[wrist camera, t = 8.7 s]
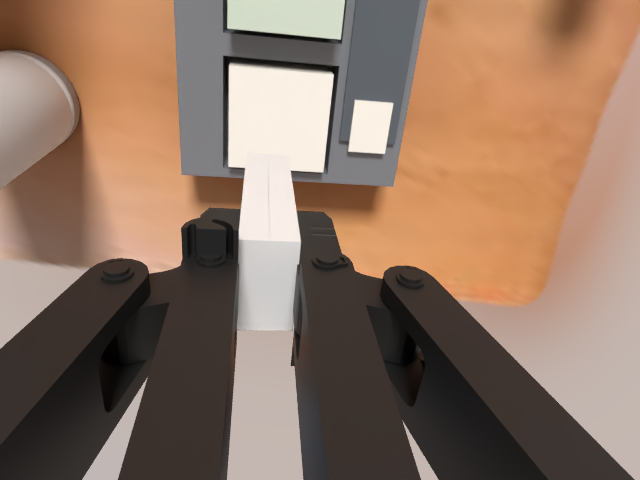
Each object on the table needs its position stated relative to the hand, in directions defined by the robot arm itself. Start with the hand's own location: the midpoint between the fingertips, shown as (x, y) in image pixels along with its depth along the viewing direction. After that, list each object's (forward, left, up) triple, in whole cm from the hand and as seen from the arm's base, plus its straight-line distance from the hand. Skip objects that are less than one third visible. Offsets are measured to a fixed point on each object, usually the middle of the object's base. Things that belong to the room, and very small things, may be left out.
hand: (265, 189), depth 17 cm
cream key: (+1, -1, -15) cm, 15 cm away
